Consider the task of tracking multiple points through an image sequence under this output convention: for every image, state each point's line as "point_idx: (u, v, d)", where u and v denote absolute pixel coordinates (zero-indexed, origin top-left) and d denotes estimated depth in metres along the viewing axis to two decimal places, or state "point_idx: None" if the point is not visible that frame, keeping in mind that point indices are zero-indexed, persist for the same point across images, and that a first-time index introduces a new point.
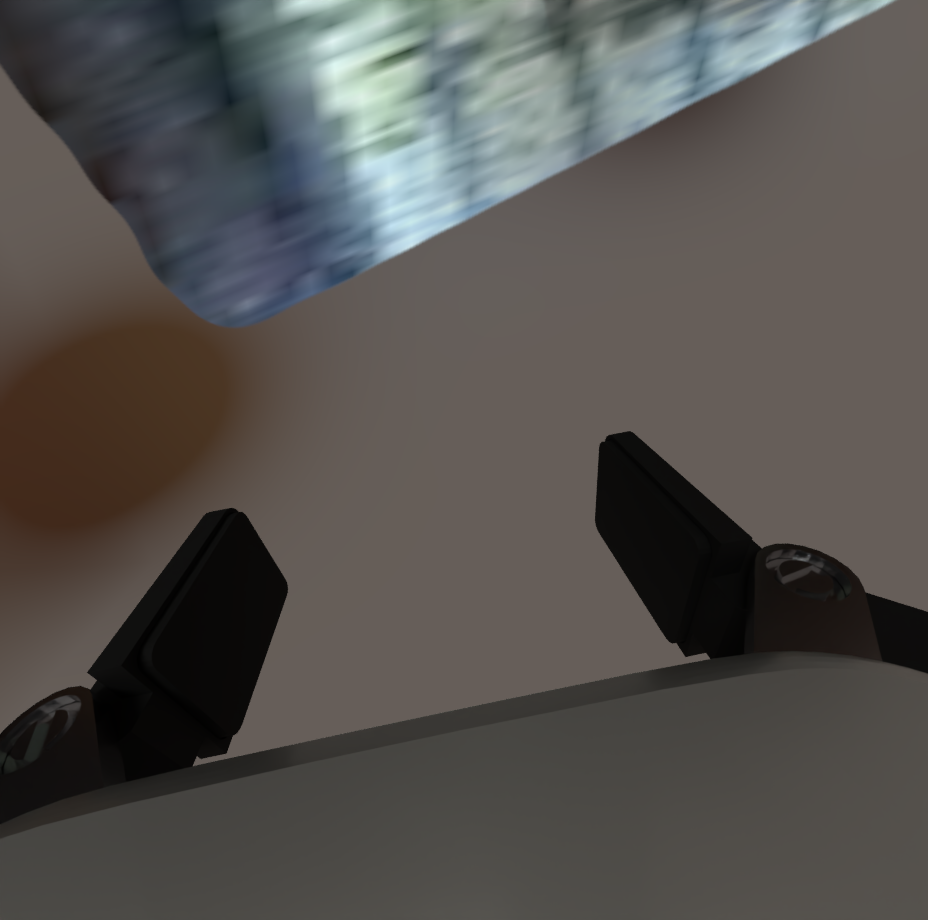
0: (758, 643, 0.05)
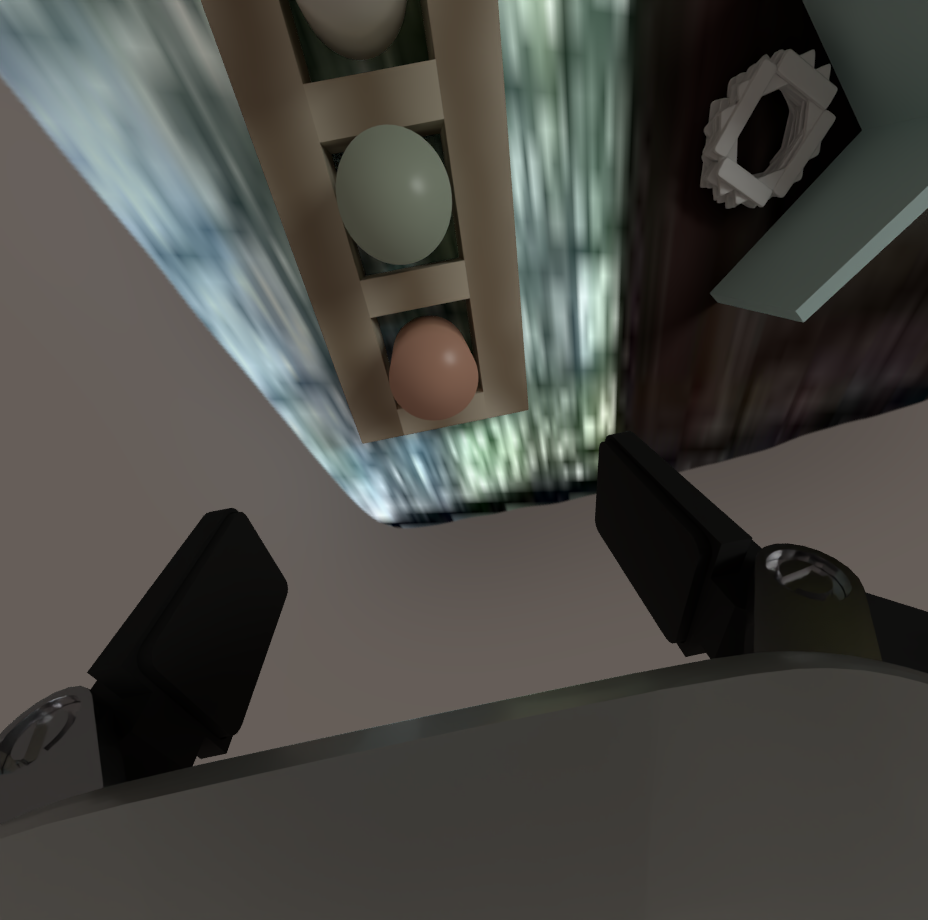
0: (758, 643, 0.05)
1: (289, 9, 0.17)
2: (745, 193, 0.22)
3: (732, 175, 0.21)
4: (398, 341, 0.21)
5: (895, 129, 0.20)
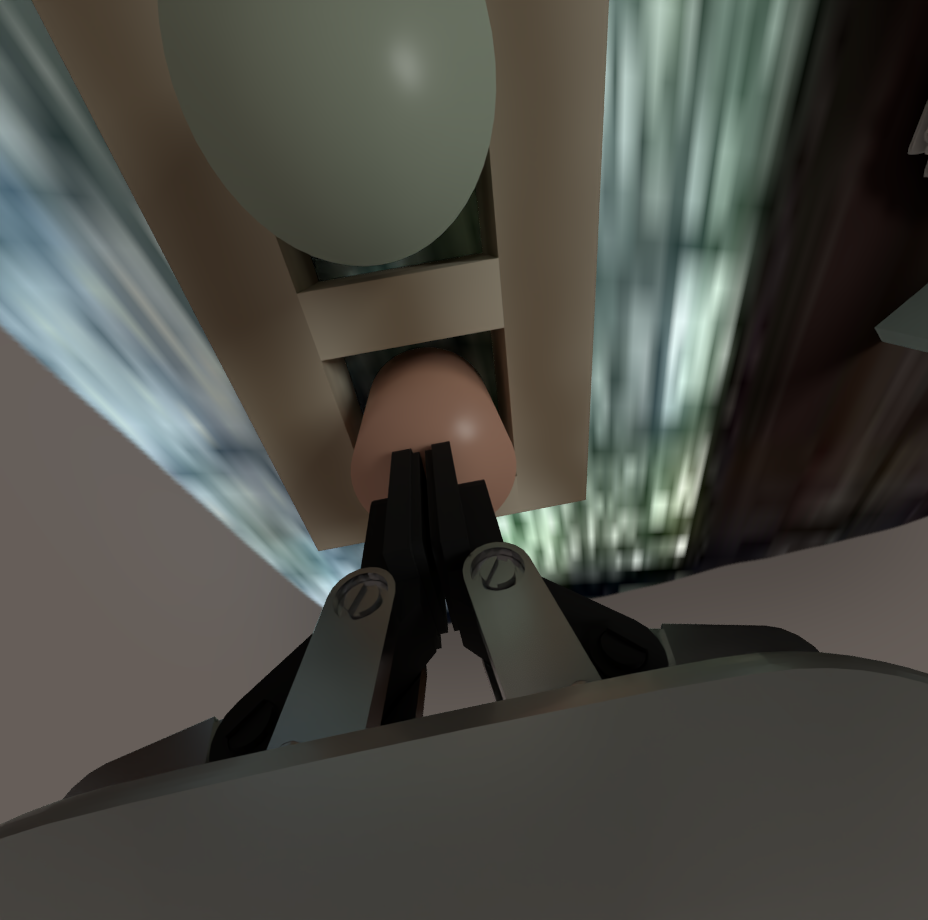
0: (496, 659, 0.05)
1: None
2: None
3: None
4: (372, 398, 0.12)
5: None
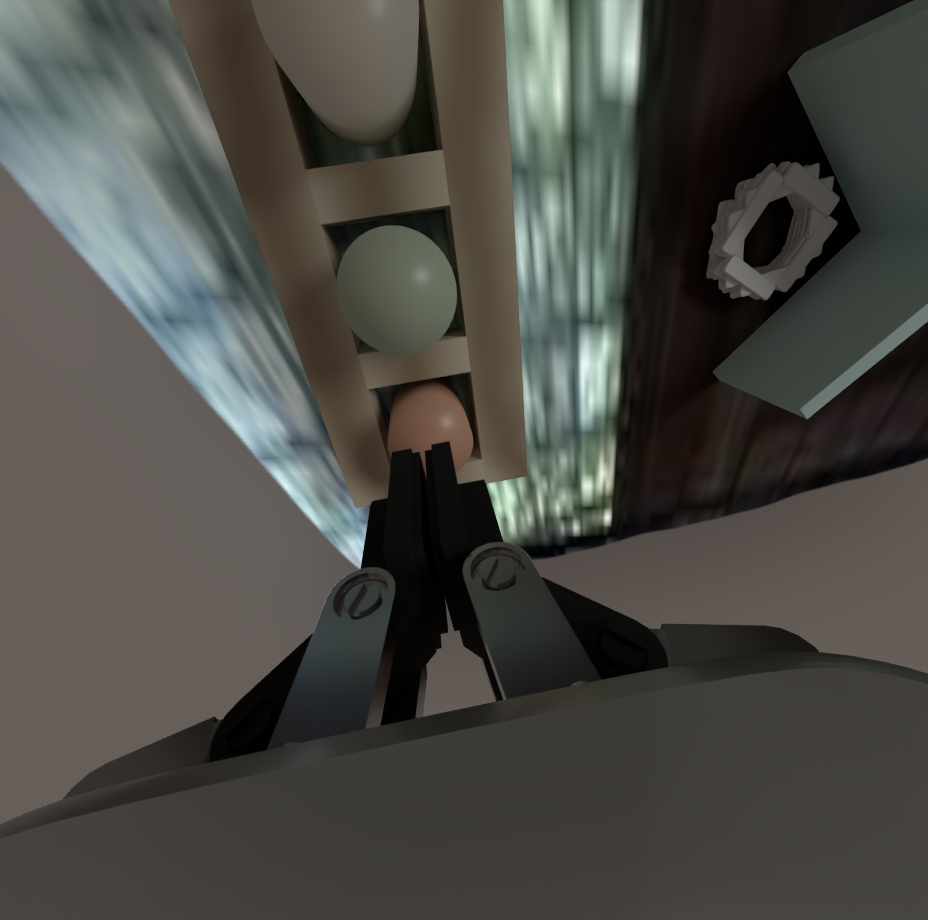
0: (496, 659, 0.05)
1: (293, 92, 0.16)
2: (750, 287, 0.22)
3: (738, 271, 0.22)
4: (397, 404, 0.21)
5: (893, 237, 0.21)
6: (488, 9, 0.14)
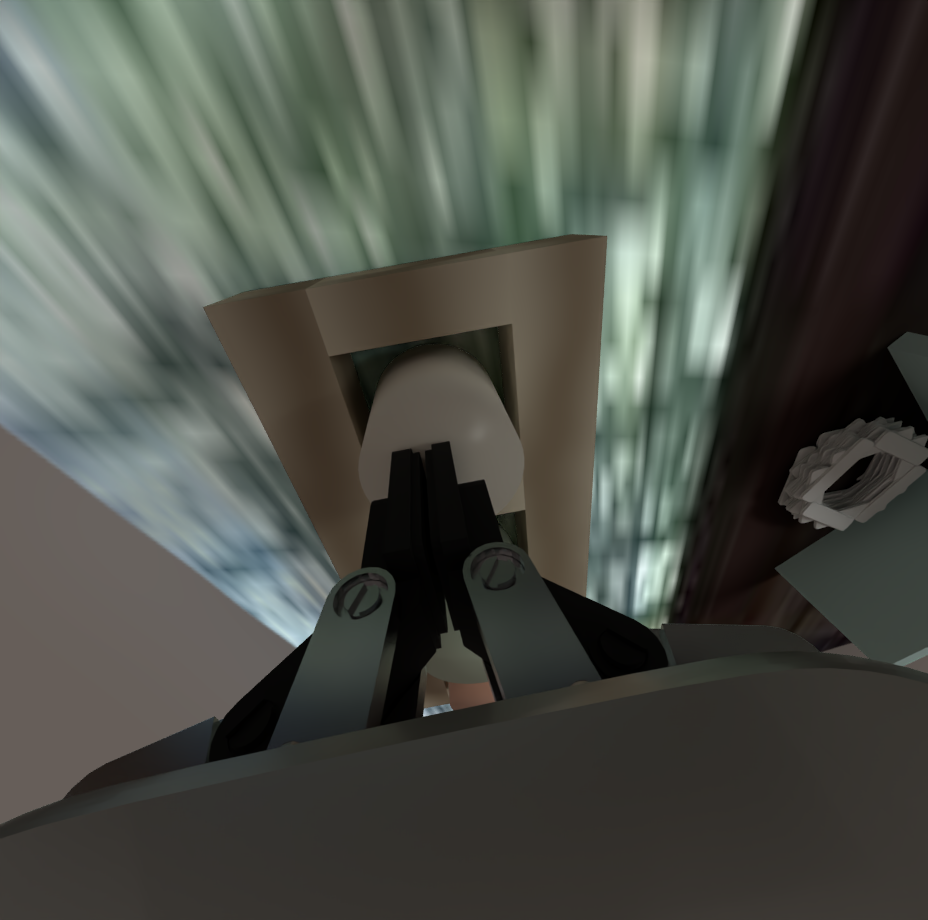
0: (496, 659, 0.05)
1: (364, 407, 0.15)
2: (827, 523, 0.21)
3: (816, 514, 0.21)
4: None
5: None
6: (583, 372, 0.13)
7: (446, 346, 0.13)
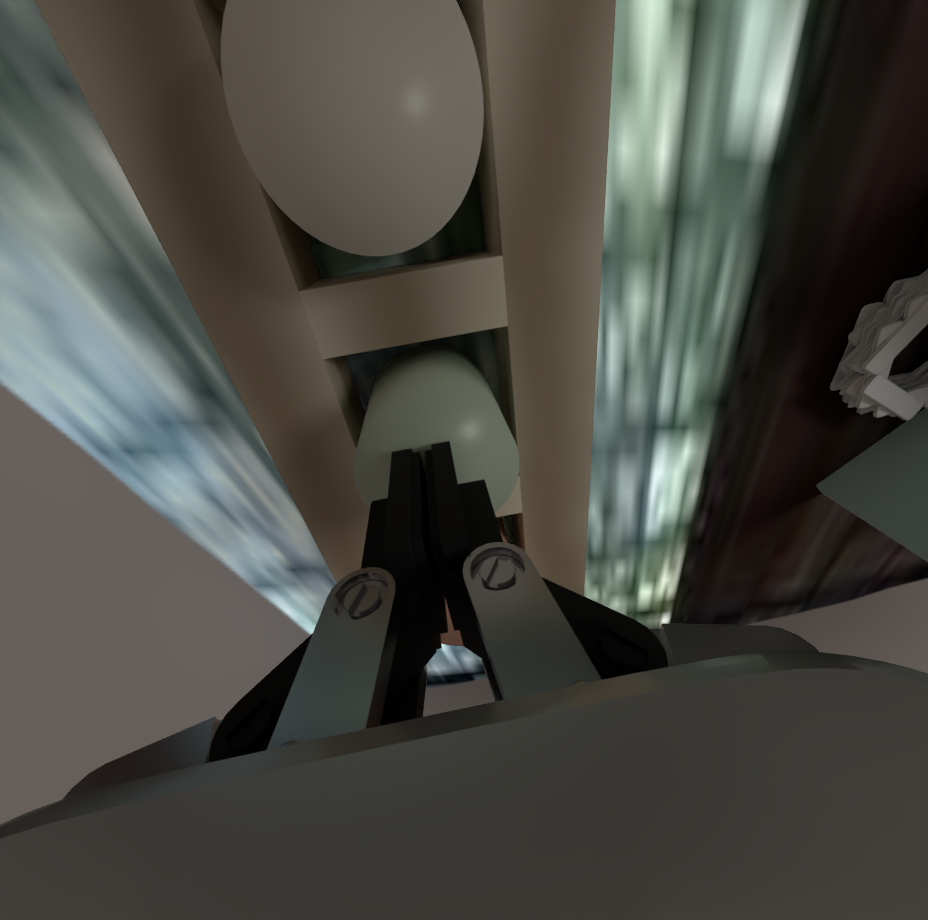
0: (496, 659, 0.05)
1: None
2: (891, 408, 0.17)
3: (880, 392, 0.17)
4: None
5: None
6: (589, 48, 0.09)
7: None
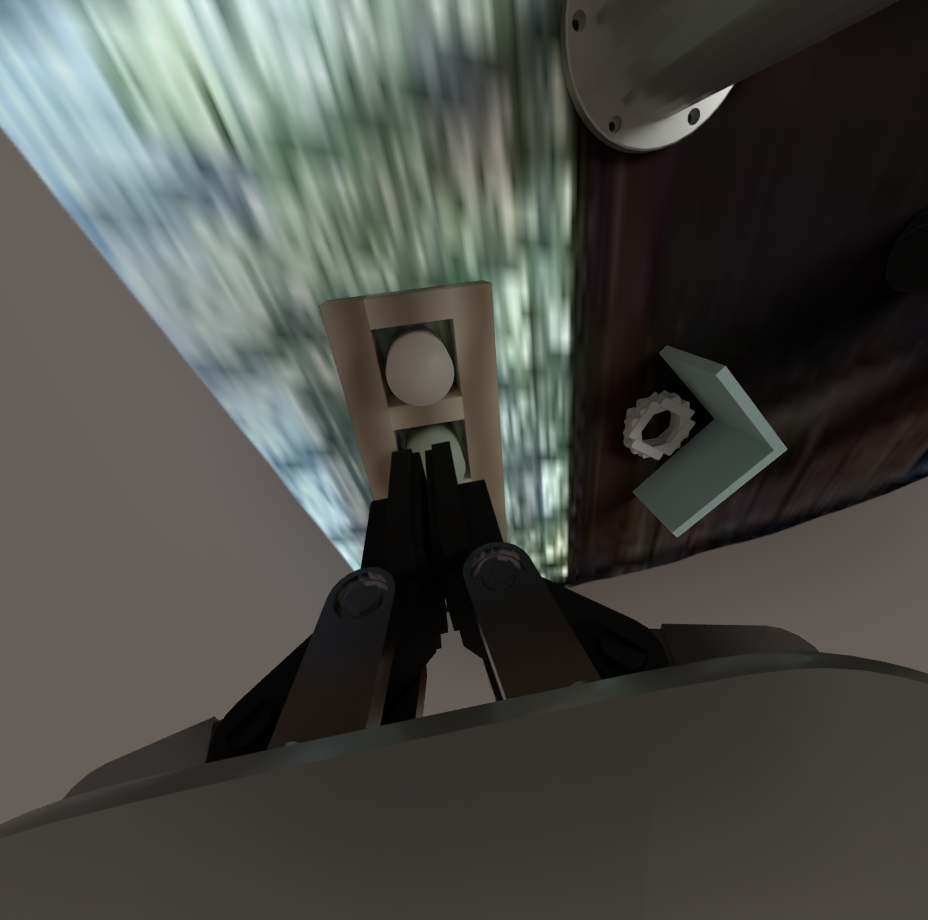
0: (496, 659, 0.05)
1: (380, 362, 0.30)
2: (648, 454, 0.37)
3: (639, 447, 0.37)
4: None
5: (727, 431, 0.36)
6: (487, 343, 0.28)
7: (423, 327, 0.29)
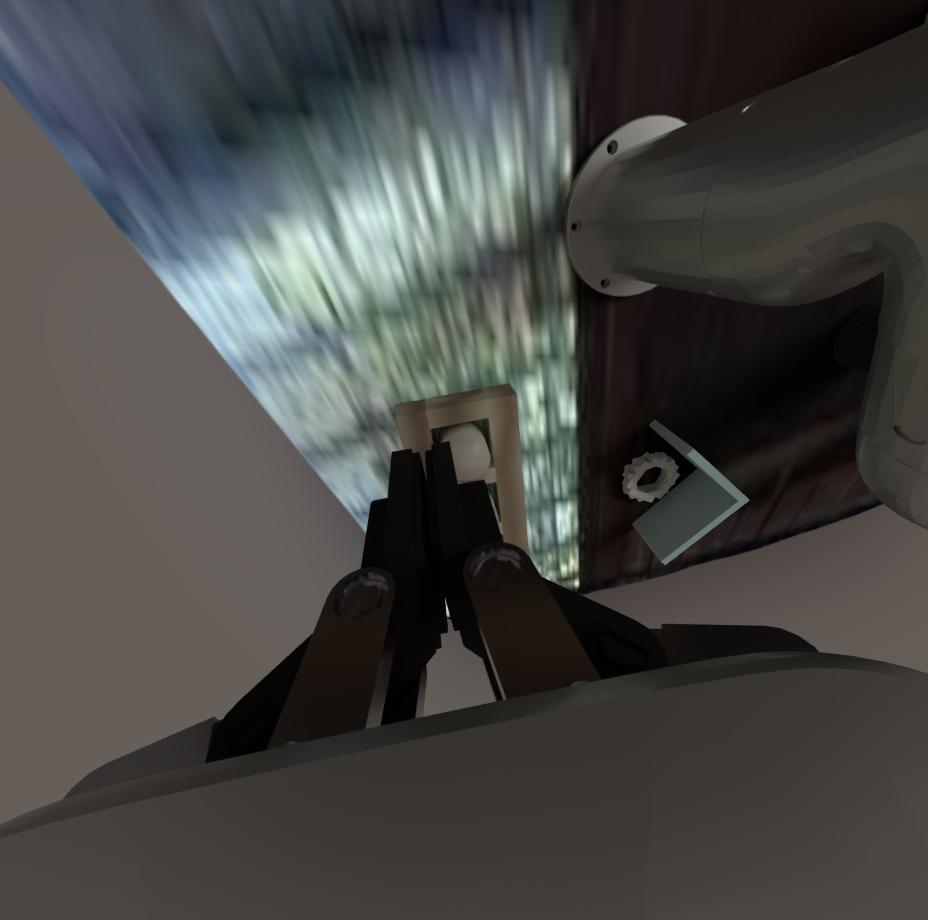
0: (496, 659, 0.05)
1: None
2: (642, 498, 0.47)
3: (635, 494, 0.46)
4: None
5: (706, 480, 0.46)
6: (513, 431, 0.38)
7: None
